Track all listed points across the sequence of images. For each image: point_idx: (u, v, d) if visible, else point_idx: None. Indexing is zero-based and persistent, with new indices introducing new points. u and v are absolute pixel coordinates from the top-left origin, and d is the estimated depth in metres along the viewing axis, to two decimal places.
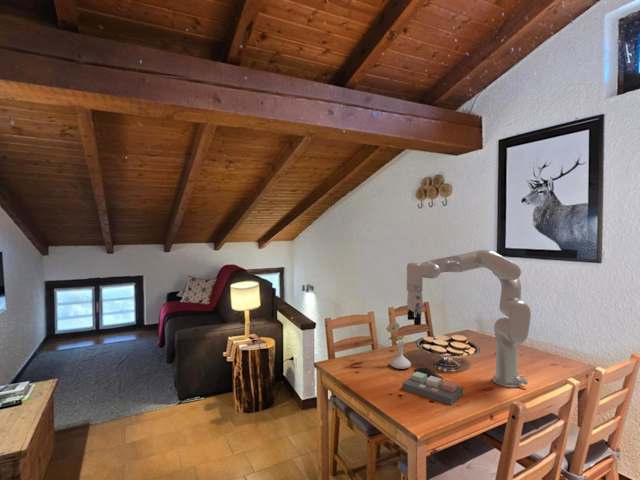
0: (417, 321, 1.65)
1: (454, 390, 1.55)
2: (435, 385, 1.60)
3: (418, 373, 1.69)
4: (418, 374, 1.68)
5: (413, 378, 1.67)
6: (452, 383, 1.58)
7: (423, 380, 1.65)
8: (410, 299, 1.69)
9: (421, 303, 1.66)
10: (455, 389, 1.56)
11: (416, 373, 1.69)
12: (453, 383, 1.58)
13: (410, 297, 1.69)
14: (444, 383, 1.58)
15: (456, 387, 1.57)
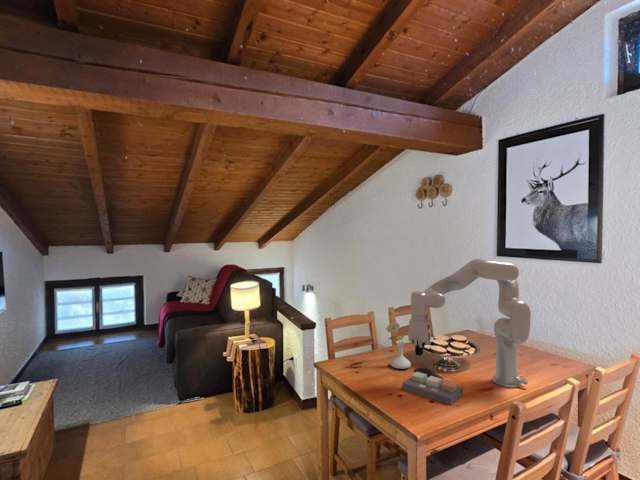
0: (422, 351, 1.66)
1: (454, 390, 1.55)
2: (435, 385, 1.60)
3: (418, 373, 1.69)
4: (418, 374, 1.68)
5: (413, 378, 1.67)
6: (452, 383, 1.58)
7: (423, 380, 1.65)
8: (419, 330, 1.64)
9: (430, 332, 1.65)
10: (455, 389, 1.56)
11: (416, 373, 1.69)
12: (453, 383, 1.58)
13: (419, 328, 1.64)
14: (444, 383, 1.58)
15: (456, 387, 1.57)
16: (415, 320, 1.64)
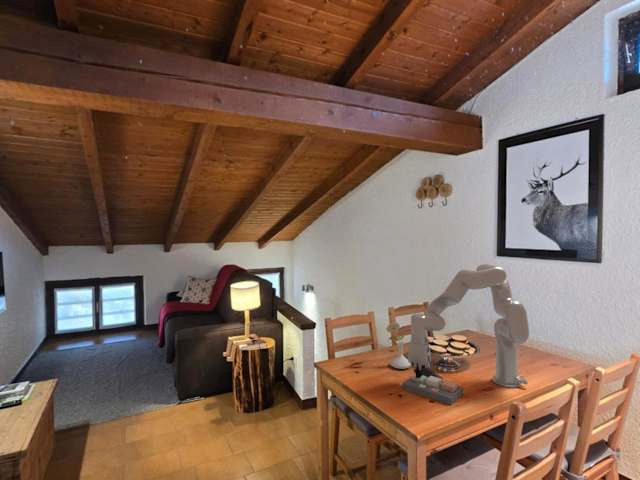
0: (421, 374, 1.67)
1: (454, 390, 1.55)
2: (435, 385, 1.60)
3: None
4: None
5: None
6: (452, 383, 1.58)
7: None
8: (419, 352, 1.65)
9: None
10: (455, 389, 1.56)
11: None
12: (453, 383, 1.58)
13: (419, 350, 1.65)
14: (444, 383, 1.58)
15: (456, 387, 1.57)
16: (415, 343, 1.65)
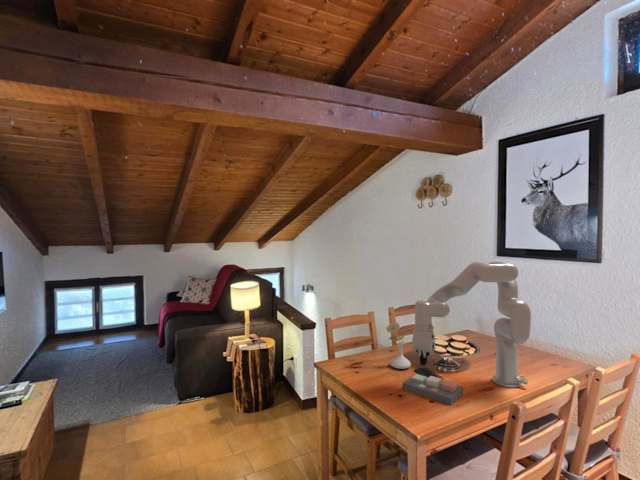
0: (425, 361, 1.65)
1: (454, 390, 1.55)
2: (435, 385, 1.60)
3: (418, 375, 1.69)
4: (418, 376, 1.68)
5: None
6: (452, 383, 1.58)
7: None
8: (423, 339, 1.63)
9: (434, 341, 1.64)
10: (455, 389, 1.56)
11: (416, 375, 1.69)
12: (453, 383, 1.58)
13: (423, 337, 1.63)
14: (444, 383, 1.58)
15: (456, 387, 1.57)
16: (419, 330, 1.63)
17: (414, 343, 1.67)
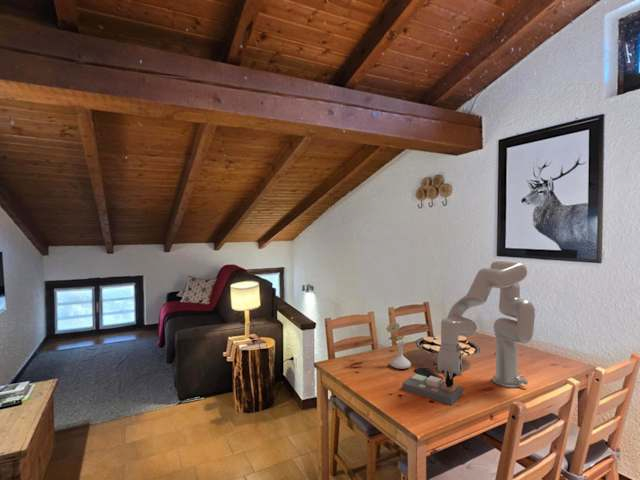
0: (452, 383, 1.56)
1: (454, 392, 1.55)
2: (435, 385, 1.60)
3: (418, 375, 1.69)
4: (418, 376, 1.68)
5: None
6: (452, 385, 1.58)
7: None
8: (450, 360, 1.55)
9: (461, 362, 1.55)
10: (455, 391, 1.56)
11: (416, 375, 1.69)
12: (453, 385, 1.58)
13: (450, 358, 1.55)
14: (444, 385, 1.58)
15: (456, 389, 1.57)
16: (446, 350, 1.55)
17: (440, 363, 1.58)
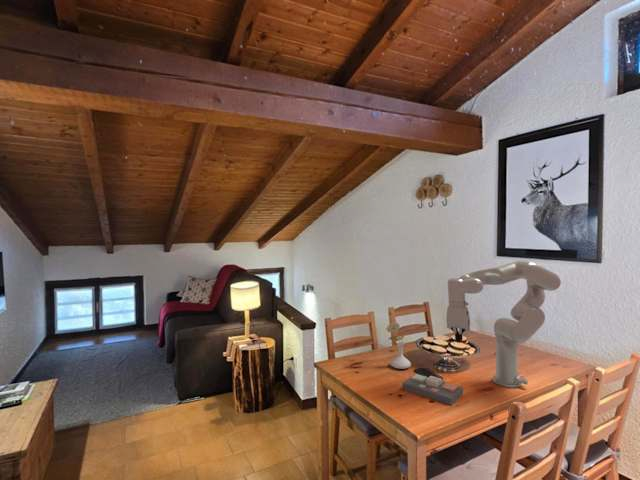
0: (461, 338, 1.66)
1: None
2: (435, 385, 1.60)
3: (418, 375, 1.69)
4: (418, 376, 1.68)
5: None
6: (452, 386, 1.58)
7: None
8: (459, 316, 1.64)
9: (469, 318, 1.65)
10: None
11: (416, 375, 1.69)
12: (453, 386, 1.58)
13: (458, 314, 1.64)
14: (444, 386, 1.58)
15: (456, 390, 1.57)
16: (454, 307, 1.64)
17: (449, 321, 1.67)
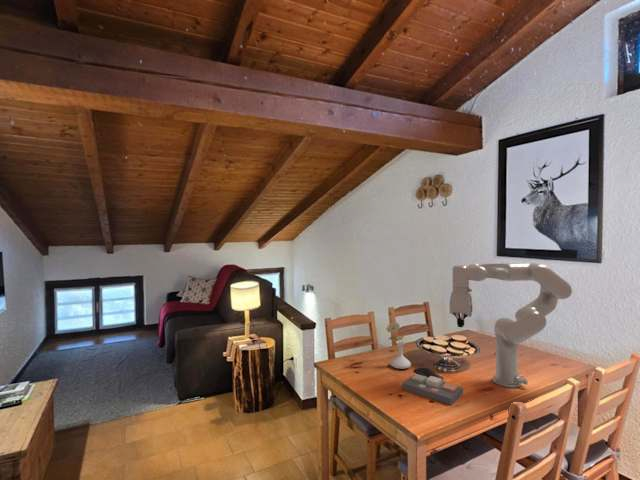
0: (463, 323, 1.71)
1: None
2: (435, 385, 1.60)
3: (418, 375, 1.69)
4: (418, 376, 1.68)
5: None
6: (452, 386, 1.58)
7: None
8: (461, 302, 1.69)
9: None
10: None
11: (416, 375, 1.69)
12: (453, 386, 1.58)
13: (461, 300, 1.69)
14: (444, 386, 1.58)
15: (456, 390, 1.57)
16: (457, 292, 1.69)
17: (452, 306, 1.73)
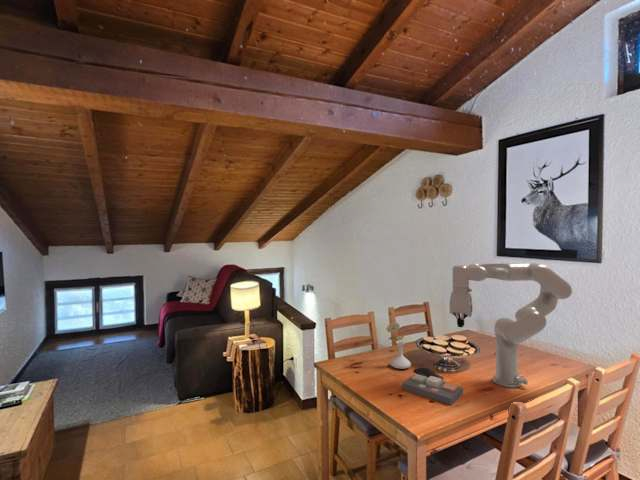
0: (463, 323, 1.71)
1: None
2: (435, 385, 1.60)
3: (418, 375, 1.69)
4: (418, 376, 1.68)
5: None
6: (452, 386, 1.58)
7: None
8: (461, 302, 1.69)
9: None
10: None
11: (416, 375, 1.69)
12: (453, 386, 1.58)
13: (461, 300, 1.69)
14: (444, 386, 1.58)
15: (456, 390, 1.57)
16: (457, 292, 1.69)
17: (452, 306, 1.73)
